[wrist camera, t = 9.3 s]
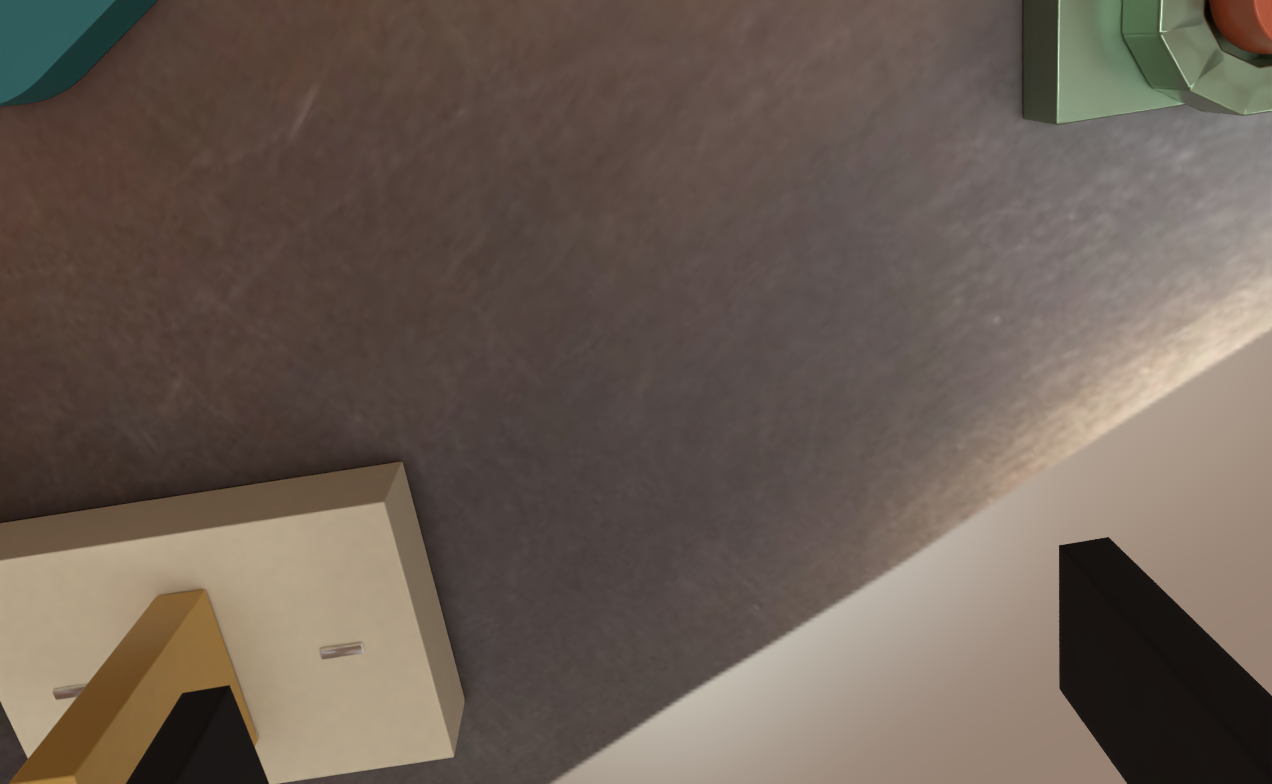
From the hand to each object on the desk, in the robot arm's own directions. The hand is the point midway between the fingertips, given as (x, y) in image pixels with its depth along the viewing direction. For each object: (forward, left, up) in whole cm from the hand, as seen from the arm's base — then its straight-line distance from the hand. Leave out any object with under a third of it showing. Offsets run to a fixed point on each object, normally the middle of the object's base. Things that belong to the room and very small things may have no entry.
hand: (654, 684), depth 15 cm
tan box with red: (-8, +15, -14) cm, 21 cm away
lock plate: (-8, +15, -17) cm, 24 cm away
